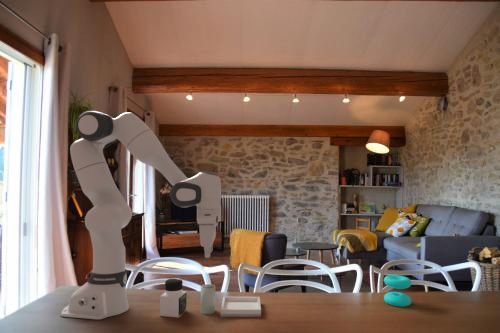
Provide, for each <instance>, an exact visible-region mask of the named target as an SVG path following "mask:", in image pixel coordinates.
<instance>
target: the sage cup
mask: <svg viewBox="0 0 500 333" xmlns="http://www.w3.org/2000/svg"><path fill="white" fill-rule="evenodd" d="M200 313H201V314H202V315H203V314H204V315H212V314H215V313H216V285H214V284H208V283H207V284H202V285H201V286H200Z"/></svg>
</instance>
